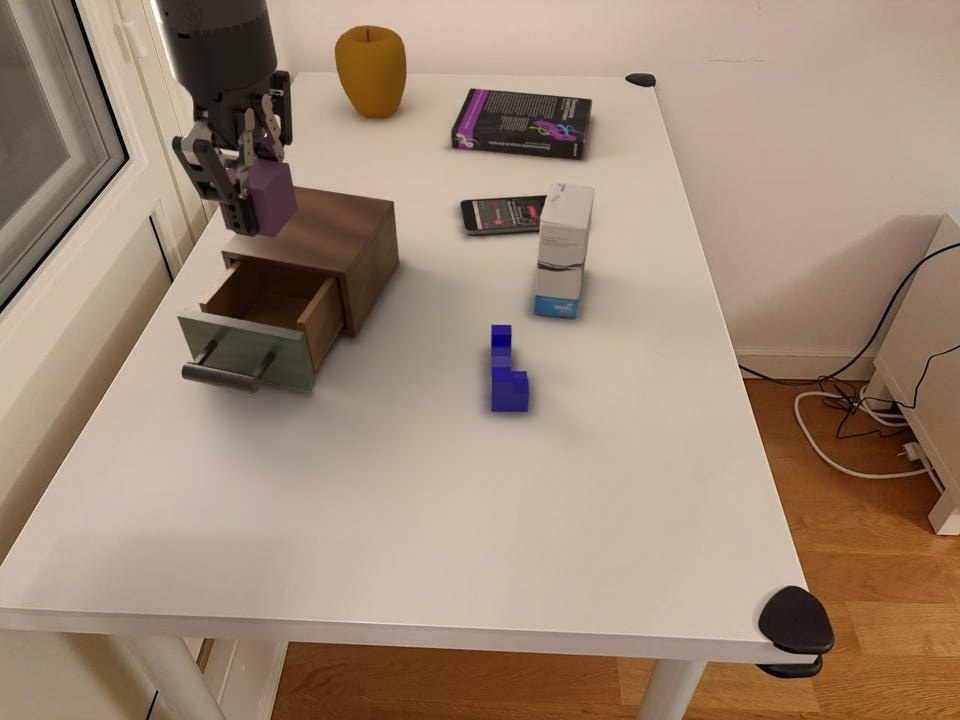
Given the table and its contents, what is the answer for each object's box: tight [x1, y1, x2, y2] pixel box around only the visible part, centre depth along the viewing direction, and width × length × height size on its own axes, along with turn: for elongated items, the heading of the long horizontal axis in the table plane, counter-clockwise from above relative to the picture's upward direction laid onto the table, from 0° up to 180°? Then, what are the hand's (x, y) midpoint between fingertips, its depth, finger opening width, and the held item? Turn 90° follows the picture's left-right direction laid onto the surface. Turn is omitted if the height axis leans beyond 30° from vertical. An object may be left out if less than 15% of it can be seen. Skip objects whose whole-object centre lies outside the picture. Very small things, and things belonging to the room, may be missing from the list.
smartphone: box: [459, 194, 548, 236], centre depth 93 cm, size 7×1×15 cm
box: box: [450, 87, 593, 160], centre depth 109 cm, size 14×4×20 cm
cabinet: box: [220, 185, 400, 339], centre depth 80 cm, size 14×14×9 cm
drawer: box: [176, 259, 346, 395], centre depth 71 cm, size 17×12×7 cm
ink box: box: [532, 181, 596, 319], centre depth 78 cm, size 8×5×12 cm, turn 168°
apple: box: [334, 25, 408, 119], centre depth 111 cm, size 11×11×13 cm
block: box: [218, 158, 298, 237], centre depth 61 cm, size 4×4×4 cm
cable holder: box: [490, 324, 530, 413], centre depth 71 cm, size 8×4×4 cm, turn 0°
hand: (261, 216), depth 62 cm, fingers closed on block, 4 cm apart
